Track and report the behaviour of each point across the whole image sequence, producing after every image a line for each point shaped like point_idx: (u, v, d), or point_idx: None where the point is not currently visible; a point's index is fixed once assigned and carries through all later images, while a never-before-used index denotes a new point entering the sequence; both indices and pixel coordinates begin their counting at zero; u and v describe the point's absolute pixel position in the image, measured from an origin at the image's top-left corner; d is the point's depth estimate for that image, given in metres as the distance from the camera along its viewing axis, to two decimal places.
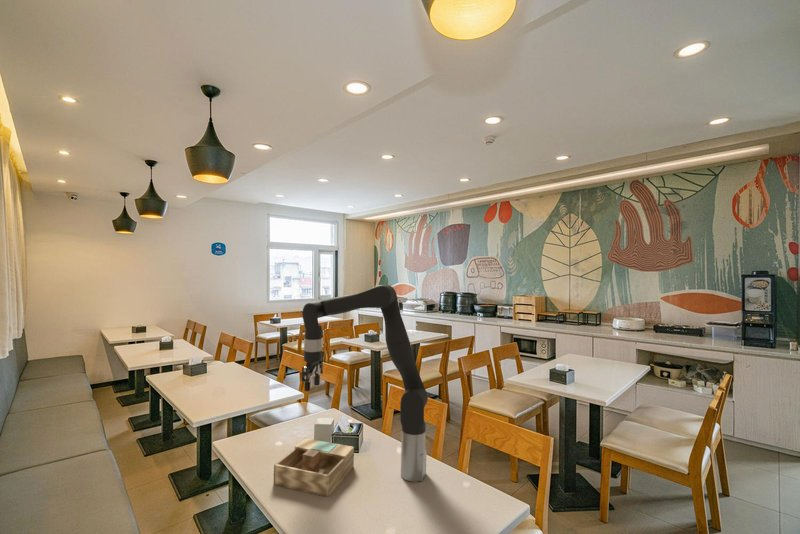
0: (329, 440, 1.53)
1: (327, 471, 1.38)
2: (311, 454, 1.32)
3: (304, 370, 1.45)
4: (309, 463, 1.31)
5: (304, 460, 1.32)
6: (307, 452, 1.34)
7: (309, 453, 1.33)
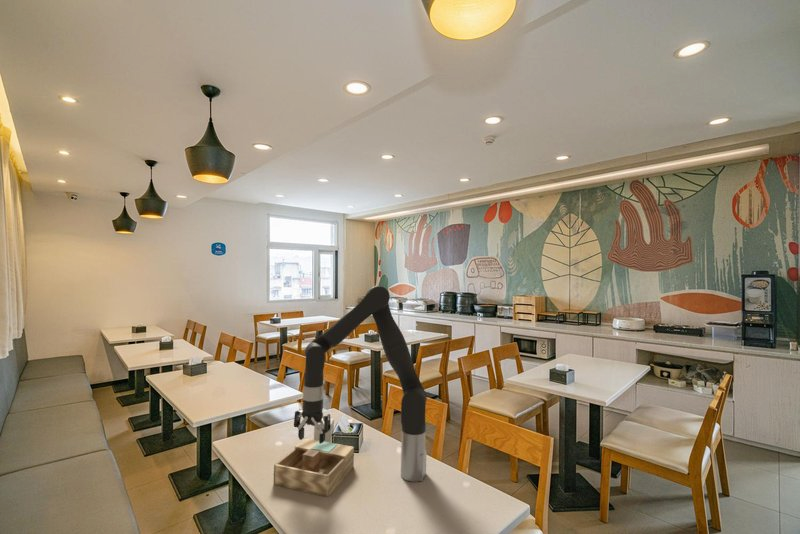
0: (329, 440, 1.53)
1: (327, 471, 1.38)
2: (311, 454, 1.32)
3: (328, 419, 1.32)
4: (309, 463, 1.31)
5: (304, 460, 1.32)
6: (307, 452, 1.34)
7: (309, 453, 1.33)
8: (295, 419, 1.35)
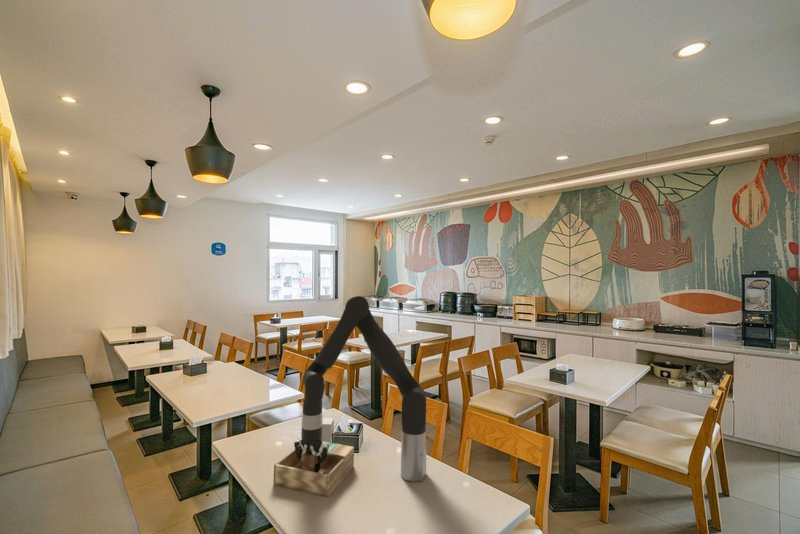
0: (329, 440, 1.53)
1: (327, 471, 1.38)
2: (311, 454, 1.32)
3: (326, 450, 1.31)
4: (309, 463, 1.31)
5: (304, 460, 1.32)
6: None
7: (309, 453, 1.33)
8: (296, 450, 1.34)
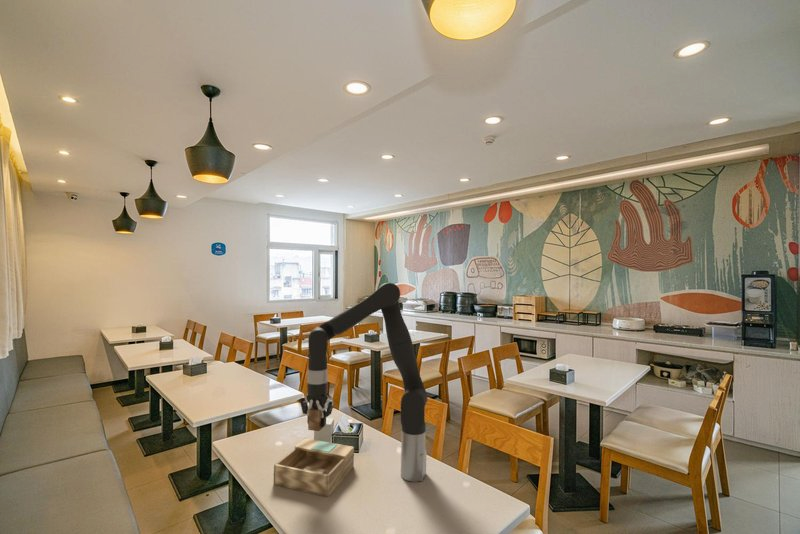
0: (329, 440, 1.53)
1: (327, 471, 1.38)
2: (317, 409, 1.35)
3: (332, 405, 1.34)
4: (315, 417, 1.34)
5: (310, 415, 1.34)
6: None
7: (314, 409, 1.35)
8: (302, 406, 1.37)
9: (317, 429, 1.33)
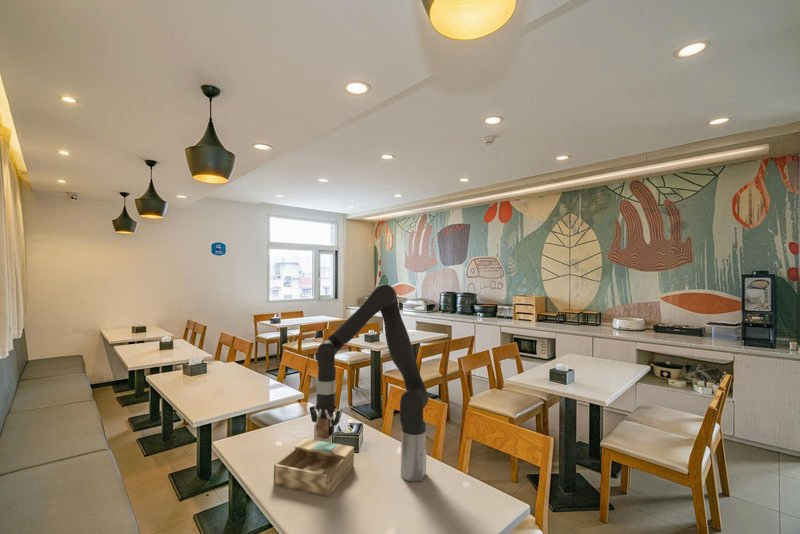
0: (329, 440, 1.53)
1: (327, 471, 1.38)
2: (325, 418, 1.42)
3: (339, 414, 1.41)
4: (323, 426, 1.41)
5: (319, 423, 1.42)
6: None
7: (323, 417, 1.42)
8: (311, 414, 1.44)
9: (325, 437, 1.41)
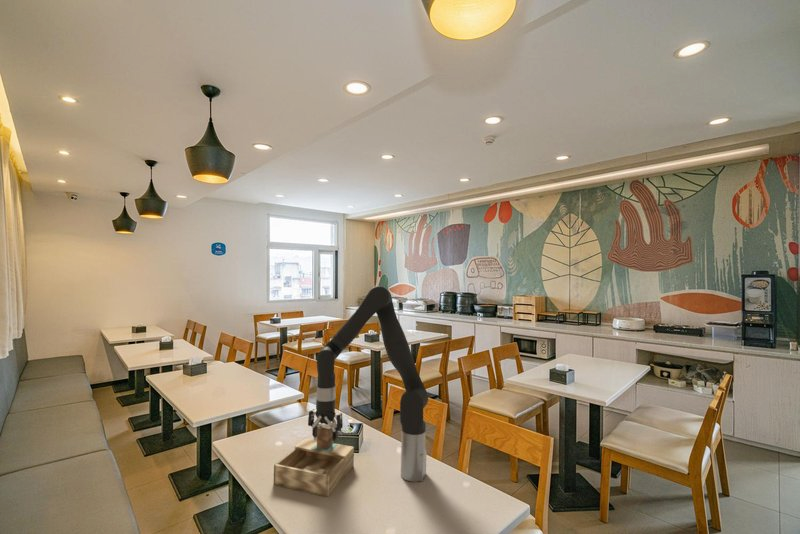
0: None
1: (327, 471, 1.38)
2: (325, 428, 1.42)
3: (340, 418, 1.41)
4: (323, 436, 1.41)
5: (319, 434, 1.41)
6: (321, 427, 1.43)
7: (323, 428, 1.42)
8: (309, 418, 1.44)
9: (325, 448, 1.40)
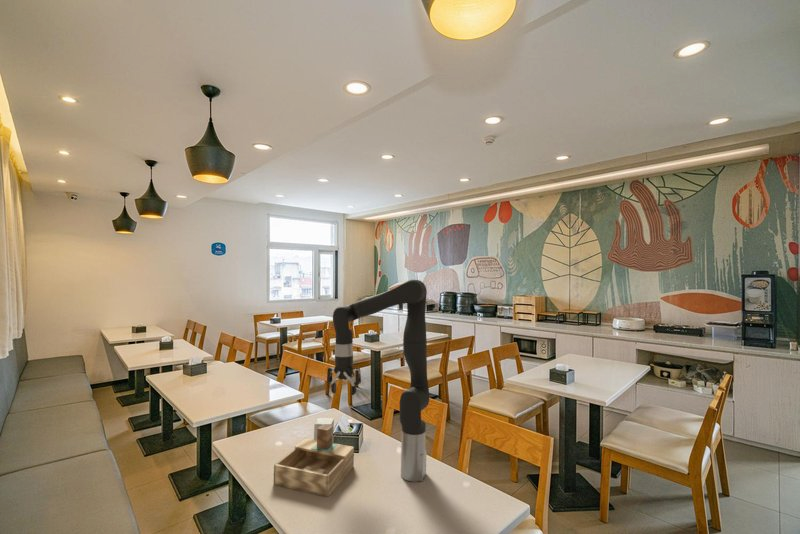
0: None
1: (327, 471, 1.38)
2: (325, 428, 1.42)
3: (359, 373, 1.46)
4: (323, 436, 1.41)
5: (319, 434, 1.41)
6: (321, 427, 1.43)
7: (323, 428, 1.42)
8: (328, 375, 1.49)
9: (325, 448, 1.40)
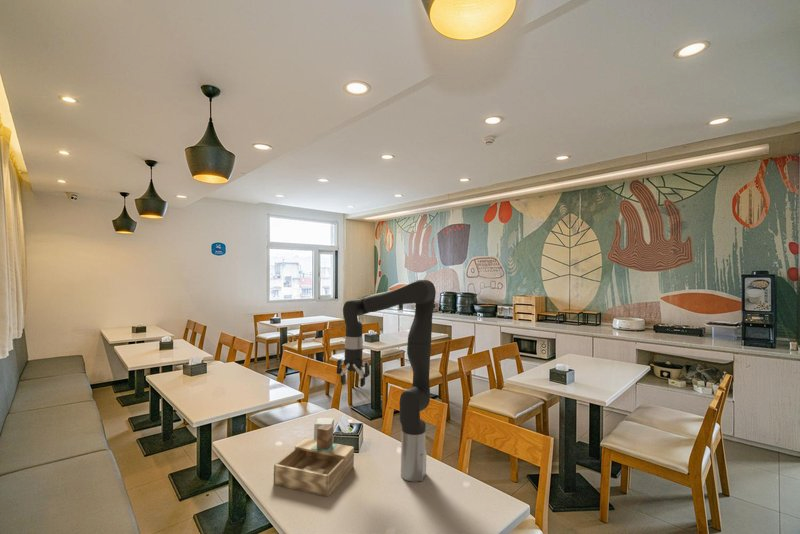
0: None
1: (327, 471, 1.38)
2: (325, 428, 1.42)
3: (368, 365, 1.49)
4: (323, 436, 1.41)
5: (319, 434, 1.41)
6: (321, 427, 1.43)
7: (323, 428, 1.42)
8: (338, 367, 1.52)
9: (325, 448, 1.40)
